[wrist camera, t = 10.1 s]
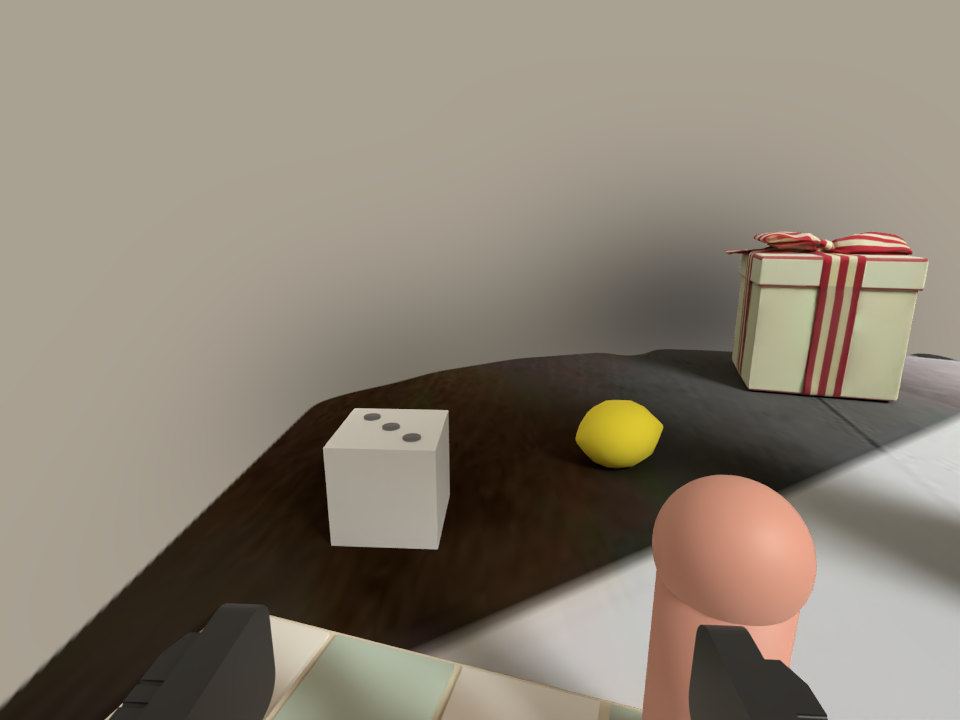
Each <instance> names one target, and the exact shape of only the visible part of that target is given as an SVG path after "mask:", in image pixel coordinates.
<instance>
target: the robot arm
mask: <svg viewBox="0 0 960 720" xmlns="http://www.w3.org/2000/svg"><path fill="white" fill-rule="evenodd" d="M275 675H276V671H275V661H274V652H273V643H272V634H271V625H270V616H269V611H268V608H267V607H266V606H265V605H258V604H234V603H225V604H223V605H222V606H220V607H219V609H218V610H217V611H216V612H215V614H214V615H213V616H212V618H211V619H210V620H209V622H208V623H207V625H206V626H205V627H204V629H203V630H202V631H201V632H189V633H187V634H186V635H185V636H183V637H182V638H181V639H179V640H178V641H177V642H176V643H174V644H173V645H172V646H170V647H169V648H168V649H166V650H165V651H164V652H162V653H161V654H160V655H159V657H158V658H157V659H156V660H155V662H154V663H153V664H152V665H151V667H150V668H149V669H148V671H147V672H146V673H145V674H144V676H143V677H142V678H141V681H140V684H139V685H136V686H135V687H134V688H133V689H132V691H131V692H130V693H129V694H128V696H127V697H126V698H125V699H124V701H123V705H122V707H118V708H117V710H116V711H115V712H114V713H113V715H112V716H111V717H110V718H109V720H263V718H264V716H265V714H266V712H267V710H268V707H269V705H270V702H271V699H272V695H273V691H274V685H275ZM689 711H690V718H691V720H828V719H827V714H826V713H825V711H824V710H823V708H822V706H821V705H820V703H819V702H818V700H817V699H816V697H815V695H814V694H813V692H812V691H811V689H810V688H809V686H808V685H807V684H806V683H805V682H804V681H803V680H802V679H801V678H799V677H798V676H797V675H796V674H795V673H794V672H793V671H792V670H791V669H790V668H788V667H787V666H786V665H785V664H784V663H783V662H782V661H781V660H772V659H764V657H763V656H762V654H761V652H760V650H759V649H758V647H757V645H756V643H755V642H754V640H753V638H752V637H751V635H750V633H749V632H748V630H747V629H746V628H745V627H743V626H727V625H703V624H701V625H699V627H698V628H697V632H696V638H695V646H694V654H693V662H692V669H691V677H690V685H689Z"/></svg>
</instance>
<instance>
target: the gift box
mask: <svg viewBox="0 0 960 720" xmlns="http://www.w3.org/2000/svg"><path fill="white" fill-rule="evenodd" d="M754 239H756V240H758V241H761V242H763V243H768V244H767V245H770V247H766V248H764V249H754V250H726V253H728V254H733V253H741V260H740V268H739V274H741V275H742V277H741V285H740V294H739V304H738V312H737V321H736V329H735V337H734V345H733V353H732V361H733V363H734V365H735V367H736V369H737V371H738V373H739V375H740V376H741V378H742V380H743V381H744V383H745V385H746V387H747V388H748V389H749V390H757V391H770V392H781V393H793V394H802V395H818V396H830V397H844V398H857V399H871V400H885V401H896V400H897V398H898V393H899V388H900V382H901V377H902V372H903V366H904V360H905V355H906V350H907V346H908V340H909V335H910V330H911V324H912V319H913V313H914V309H915V303H916V298H917V293H918V290H920V291H922V290H923V289H924V284H925V279H926V274H927V268H928V262H929V261H928V259H926V258H921V257H913V256H907V255H909V254H912V251H911V250H910V248H909V246H908V245H907V244H906V242H905V241H904V240H903V239H902V238H900V237H898V236H896V235H892V234H885V233H877V232H867V233H861V234H853V235H850V236H847V237H844V238H840V239H836V240H834V241H832V242H831V241H828V240H821V239H819V238H817V237H816V236H814V235H812V234H810V233H798V232H770V233H763V234H758V235H756V236H755V237H754Z"/></svg>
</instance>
